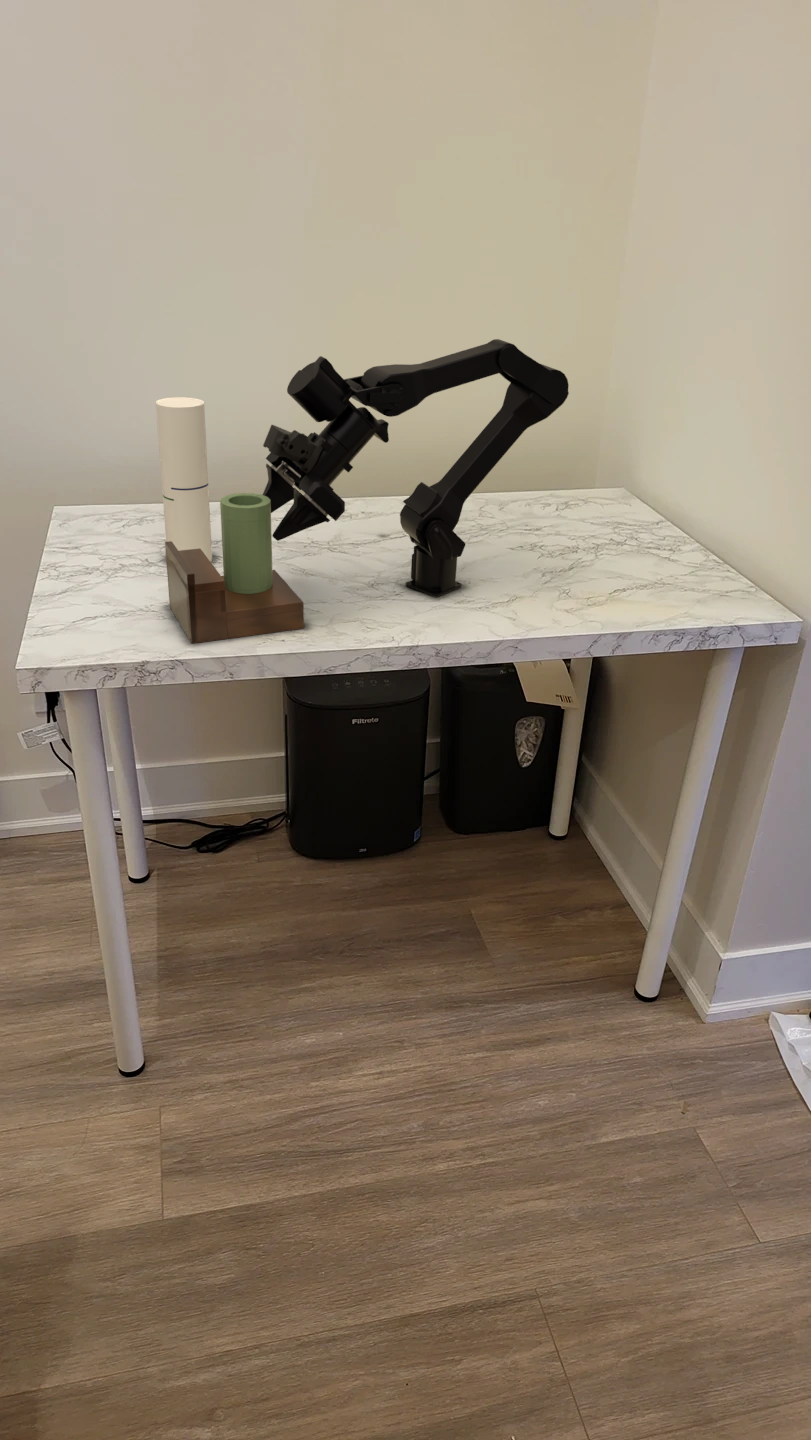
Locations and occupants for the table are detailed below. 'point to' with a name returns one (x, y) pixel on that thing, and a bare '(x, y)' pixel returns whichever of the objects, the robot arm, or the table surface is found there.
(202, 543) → the cylindrical container
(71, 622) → the table surface
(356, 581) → the table surface
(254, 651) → the table surface
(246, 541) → the jar
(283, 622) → the wooden l-shaped bookend
